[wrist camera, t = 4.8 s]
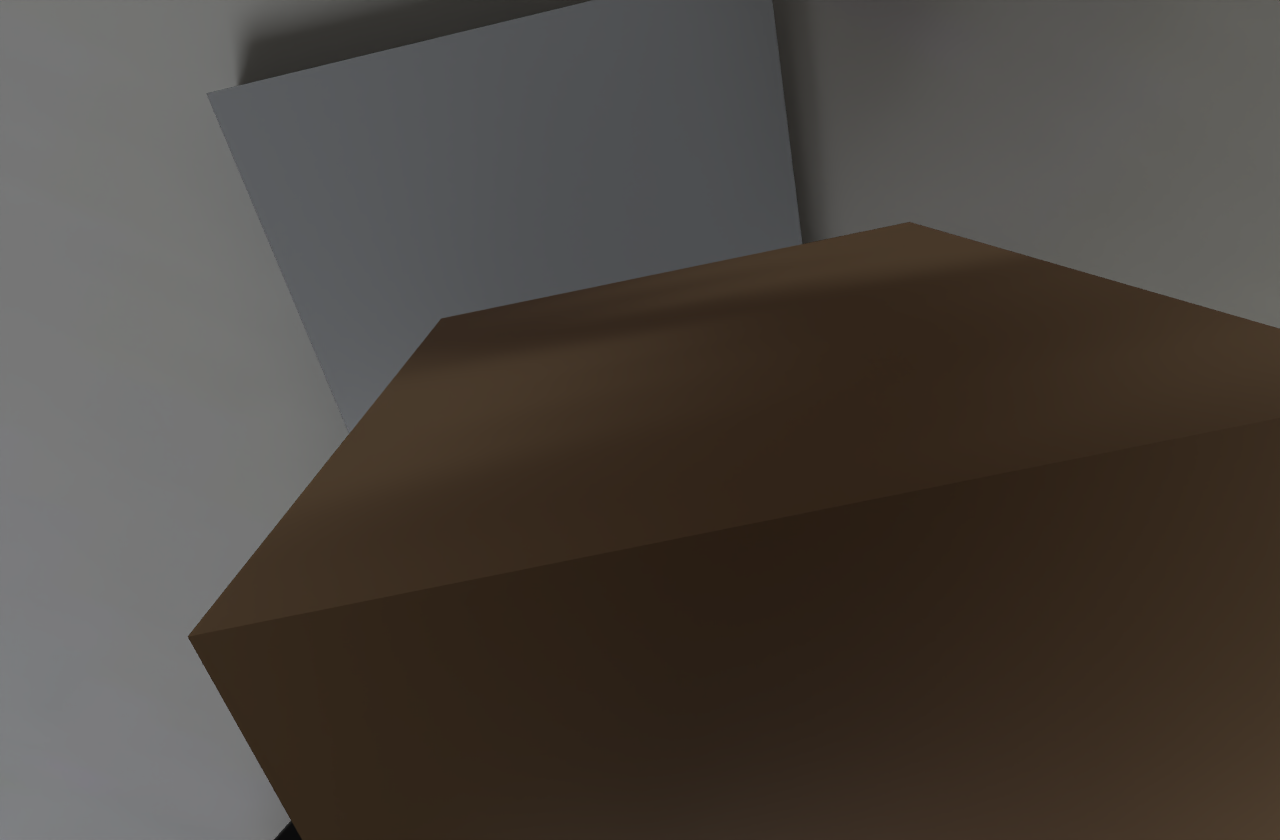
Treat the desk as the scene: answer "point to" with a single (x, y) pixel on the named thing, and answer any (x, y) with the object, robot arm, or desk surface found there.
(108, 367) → the desk surface
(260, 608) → the walnut brick
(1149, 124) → the desk surface
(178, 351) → the desk surface
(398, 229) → the baseplate
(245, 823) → the desk surface
